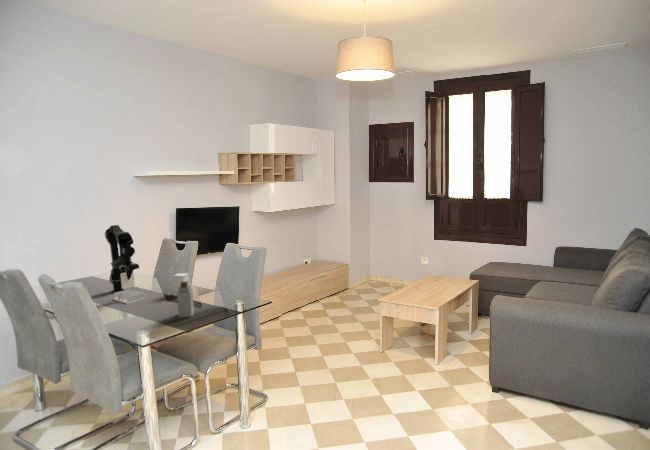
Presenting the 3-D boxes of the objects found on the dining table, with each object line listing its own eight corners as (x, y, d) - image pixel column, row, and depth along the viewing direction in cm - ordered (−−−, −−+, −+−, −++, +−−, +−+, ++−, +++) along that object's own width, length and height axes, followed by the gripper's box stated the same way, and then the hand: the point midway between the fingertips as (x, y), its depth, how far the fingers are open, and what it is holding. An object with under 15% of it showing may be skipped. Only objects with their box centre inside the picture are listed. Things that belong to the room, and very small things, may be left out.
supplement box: (184, 296, 301) (182, 276, 300) (173, 296, 303) (171, 275, 301) (190, 292, 309) (188, 273, 307) (179, 292, 310) (177, 272, 308)
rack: (113, 299, 299) (112, 293, 298) (131, 294, 308) (131, 288, 307) (126, 303, 289) (126, 297, 289) (145, 298, 299) (144, 292, 298)
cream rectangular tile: (121, 288, 296) (120, 273, 294) (132, 285, 301) (131, 271, 300) (123, 288, 294) (122, 274, 293) (134, 286, 300) (133, 271, 298)
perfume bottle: (181, 313, 269) (178, 281, 266) (194, 312, 269) (191, 280, 267) (178, 317, 262) (176, 284, 260) (191, 316, 263) (189, 283, 260)
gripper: (104, 254, 294) (106, 280, 296) (120, 257, 283) (123, 284, 285) (121, 251, 303) (123, 276, 305) (138, 254, 291) (140, 280, 294)
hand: (127, 279), depth 297 cm, fingers closed on cream rectangular tile, 2 cm apart
